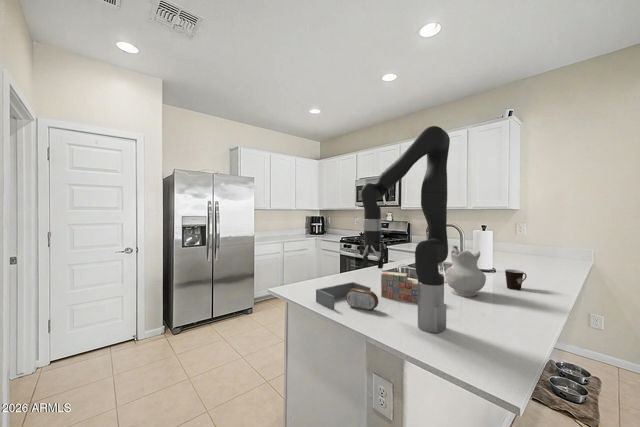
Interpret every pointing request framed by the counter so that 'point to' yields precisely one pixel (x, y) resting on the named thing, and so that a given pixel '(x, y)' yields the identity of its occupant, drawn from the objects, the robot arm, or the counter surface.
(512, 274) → the coffee mug
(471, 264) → the ceramic pitcher
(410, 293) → the stack of blocks
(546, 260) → the counter surface
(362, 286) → the box
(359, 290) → the digital alarm clock
